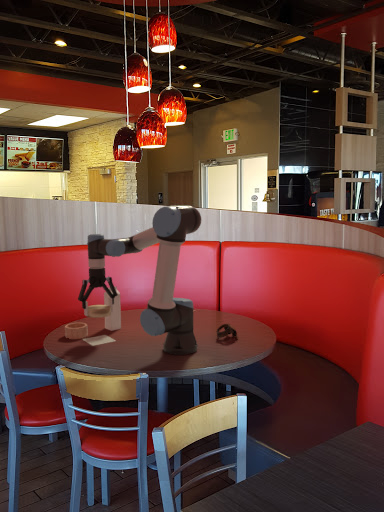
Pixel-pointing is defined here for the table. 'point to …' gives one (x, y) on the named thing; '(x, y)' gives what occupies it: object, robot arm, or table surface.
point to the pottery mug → (226, 331)
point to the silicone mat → (99, 340)
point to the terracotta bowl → (76, 330)
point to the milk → (115, 318)
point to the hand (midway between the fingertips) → (98, 313)
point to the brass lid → (99, 311)
